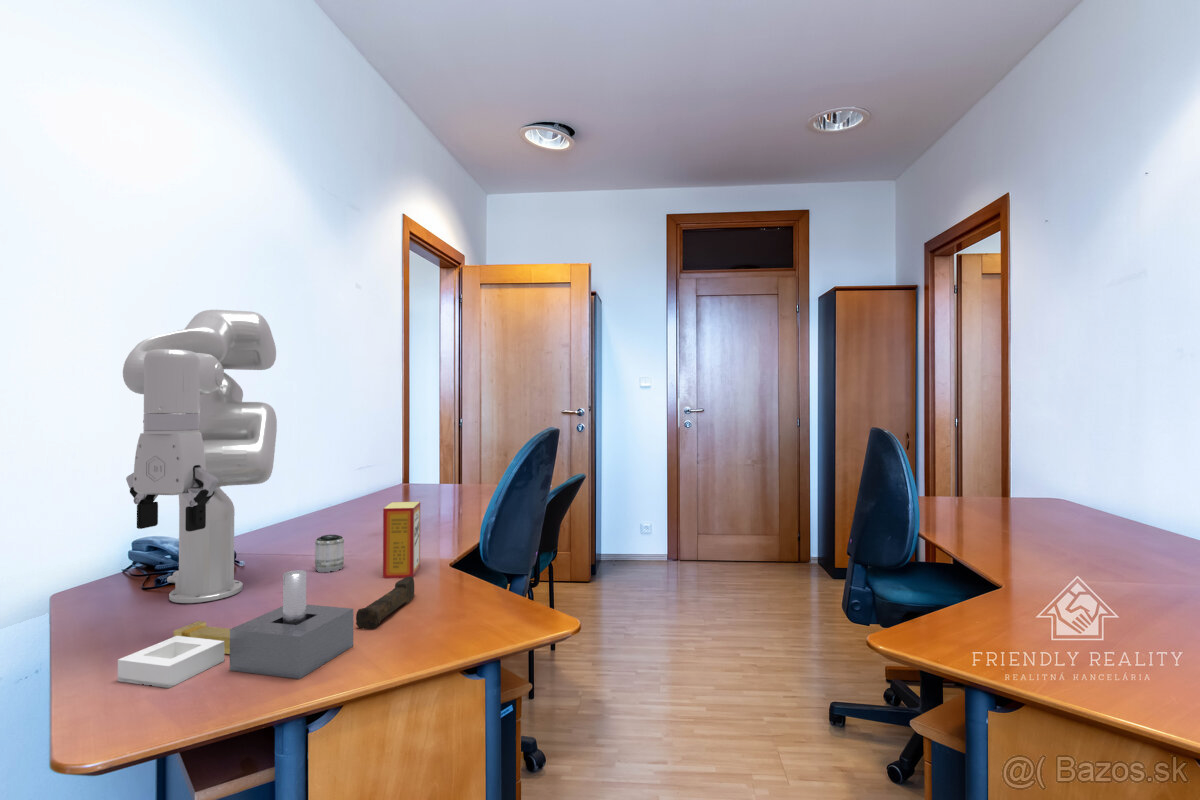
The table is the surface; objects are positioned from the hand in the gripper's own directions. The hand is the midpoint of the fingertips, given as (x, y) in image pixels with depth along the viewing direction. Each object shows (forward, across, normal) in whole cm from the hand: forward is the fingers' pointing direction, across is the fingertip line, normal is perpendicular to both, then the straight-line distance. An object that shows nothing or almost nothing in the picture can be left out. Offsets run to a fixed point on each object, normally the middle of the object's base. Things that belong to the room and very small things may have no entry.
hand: (171, 528), depth 98 cm
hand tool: (+19, +27, +21) cm, 39 cm away
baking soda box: (+19, +15, +45) cm, 51 cm away
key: (+18, +10, -1) cm, 21 cm away
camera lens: (+19, -3, +44) cm, 48 cm away
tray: (+19, +10, -8) cm, 23 cm away
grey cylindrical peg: (+19, +24, -1) cm, 31 cm away
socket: (+19, +24, -1) cm, 31 cm away
